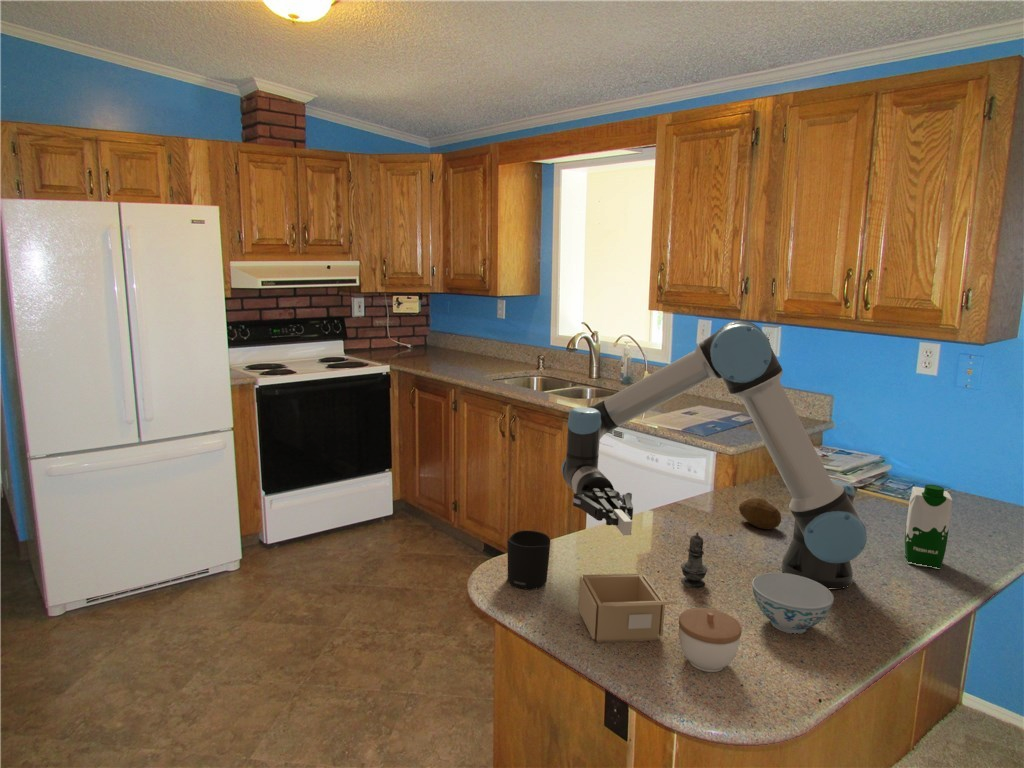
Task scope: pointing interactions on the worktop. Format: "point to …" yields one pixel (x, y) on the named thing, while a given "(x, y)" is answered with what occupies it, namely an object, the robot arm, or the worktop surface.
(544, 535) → the pen holder
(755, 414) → the robot arm
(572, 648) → the worktop surface
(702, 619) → the lidded jar
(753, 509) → the potato
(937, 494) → the milk carton
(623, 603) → the flap
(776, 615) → the chinaware
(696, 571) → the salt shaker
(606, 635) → the carton
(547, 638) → the worktop surface
